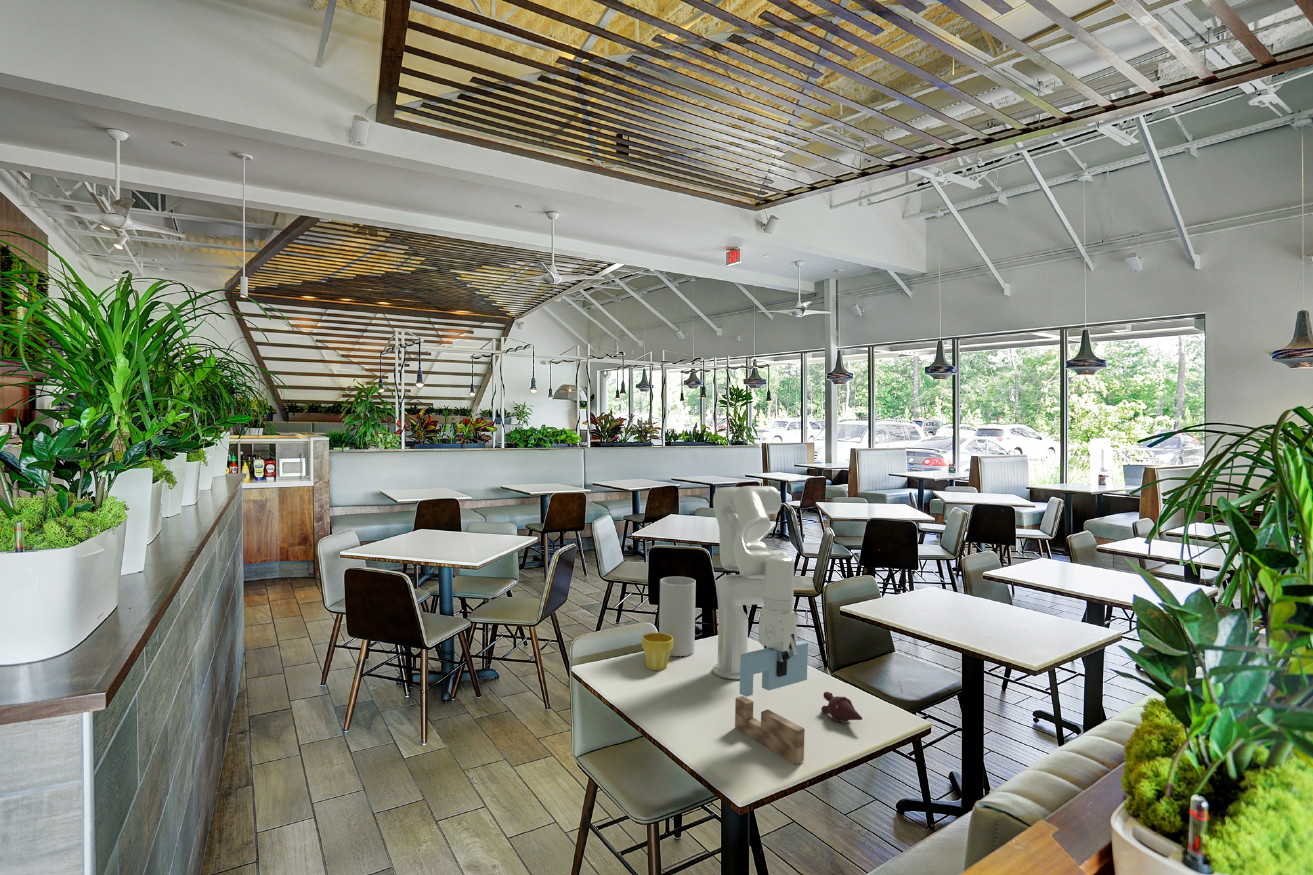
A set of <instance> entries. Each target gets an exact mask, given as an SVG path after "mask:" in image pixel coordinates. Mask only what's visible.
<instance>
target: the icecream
mask: <svg viewBox="0 0 1313 875" xmlns="http://www.w3.org/2000/svg"><path fill="white" fill-rule="evenodd" d="M823 698H824V699H825V700H826V701H827V702H828V704H827V705H822V707H820V709H821V711H822V713H823V714H826V715H827V714H828V715H830V717H831V718H832V719H833V720H834V721H836V722H838V723H839V724H841V723H842V724H843V722H844V723H846V722H845V721H847V722H849V721H862V720H863V717H862V715H860V713H859V712H858V711H857V710H856V709H855V707H854V705H853V702H852V701H851V700H850V699H849V698H848V697H846V696H837V695H836V696H834V695H833V693H832V692H829V691H825V692H824V693H823Z"/></svg>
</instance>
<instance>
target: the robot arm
mask: <svg viewBox="0 0 1313 875" xmlns="http://www.w3.org/2000/svg"><path fill="white" fill-rule="evenodd" d="M712 506H713V511H714V515H715V518H716V521H717V524H718V525H717V526H718V531H719V532H718V534H719V558H720V559H719V560H720V564H721V567H722V568H723V569H724V570H726V571H727V570H728V571H738V573H739V574H726V575H723V576H721V577H720V578H719V579H718V580H717V582H716V586H715V587H716V588H715V589H716V591H715V592H716V597H717V608H718V610H717V611H718V622H717V624H718V629H717V630H718V631H717V663H715V664H714V665H713V666H712V673H713V674H714V675H715V676H717V677H720V678H722V679H727V680H740V659H741V654H744V653H748V646H749V645H748V643H749V641H748V640H749V638H748V637H749V635H748V634H749V619H748V615H747V613H746V612H745V611H744V610H743V608H742V606H746V605H754V606H755V605H763V606H762V607H761V610H760V614H759V620H758V621H759V622H758V630H757V631H758V634H757V635H758V636H757V638H758V639H757V640H758V642H759V643H760V645H761V646H762V647H763V649H766V648H772V649H775V650H777V651H778V659H779V661H777V677H781V676H785V675H787V661H788V660H789V658H791V657H793V656H797V651H796V644H797V641H798V638H797V637H798V634H797V633H798V630H797V620H796V614H795V612H796V611H795V610H794V593H795V592H794V585H795V562H794V559H793V558H792V557H790V556H788V554H787V553H786V552H785V551H784V550H779V549H776V550H775V549H774V550H773V549H771V550H769V549H768V546H767V544H766V543H765V542H763V541H761V540H758V539H761V538H762V537H764V536H765V535H767V533H769V531H770V529H771V526H772V524H771V520H770V517H769V515H772V514H777V513H778V512H779V511H780V510H781V506H782V498H781V494H780V492H779V491H778V489H777V488H776V487H774V486H771V485H770V486H769V485H745V486H741V487H740V486H729V487H721V488H719V489H716V491H715V492H714V494H713V498H712ZM783 652H784V653H785V654H784V655H783Z"/></svg>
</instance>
